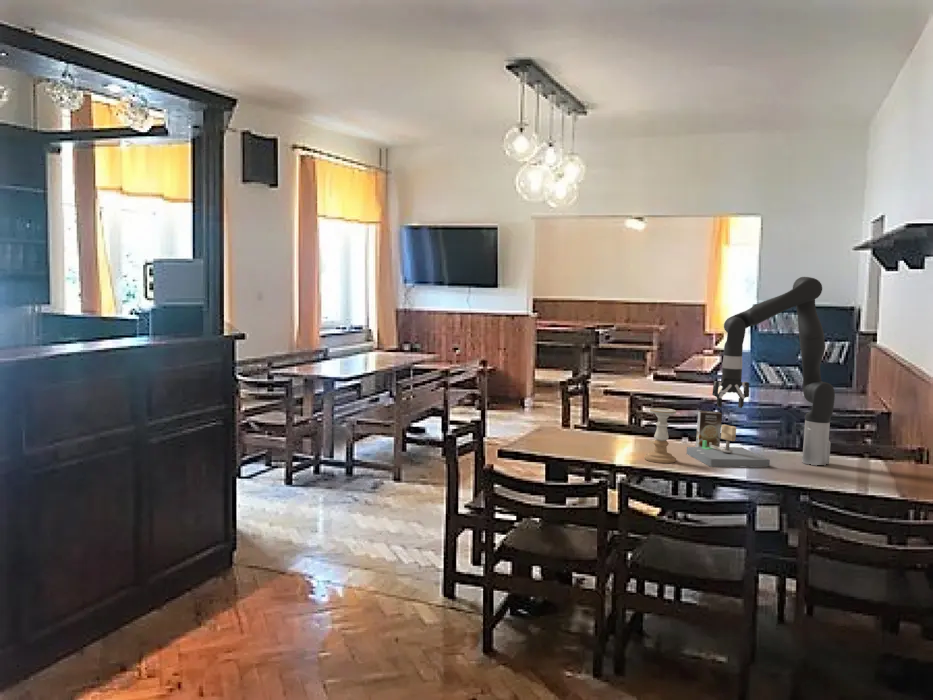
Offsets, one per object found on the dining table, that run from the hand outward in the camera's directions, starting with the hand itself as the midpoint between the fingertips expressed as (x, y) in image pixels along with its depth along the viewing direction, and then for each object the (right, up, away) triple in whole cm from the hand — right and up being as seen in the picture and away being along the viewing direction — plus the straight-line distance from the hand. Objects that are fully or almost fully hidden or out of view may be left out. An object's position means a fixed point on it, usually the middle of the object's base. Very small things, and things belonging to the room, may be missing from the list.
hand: (730, 407), depth 345 cm
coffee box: (-2, -20, +25) cm, 32 cm away
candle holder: (-28, -21, -2) cm, 35 cm away
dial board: (-1, -21, +2) cm, 22 cm away
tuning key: (-2, -18, +4) cm, 18 cm away
